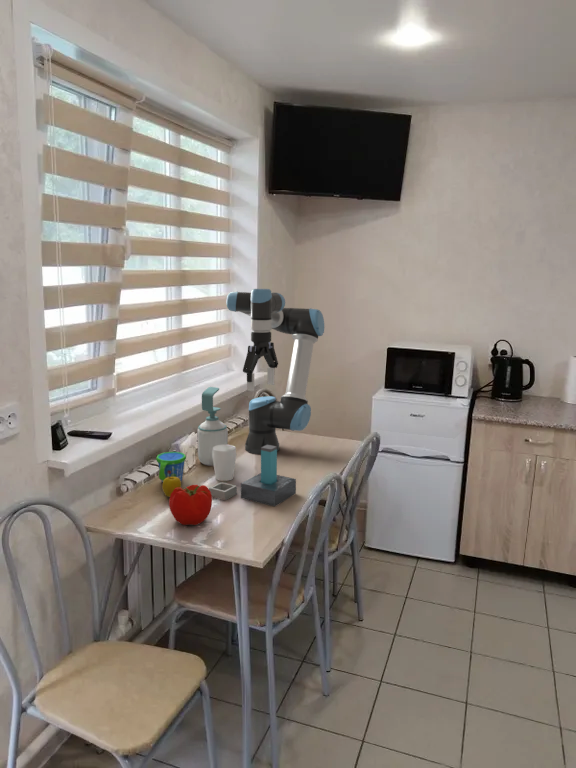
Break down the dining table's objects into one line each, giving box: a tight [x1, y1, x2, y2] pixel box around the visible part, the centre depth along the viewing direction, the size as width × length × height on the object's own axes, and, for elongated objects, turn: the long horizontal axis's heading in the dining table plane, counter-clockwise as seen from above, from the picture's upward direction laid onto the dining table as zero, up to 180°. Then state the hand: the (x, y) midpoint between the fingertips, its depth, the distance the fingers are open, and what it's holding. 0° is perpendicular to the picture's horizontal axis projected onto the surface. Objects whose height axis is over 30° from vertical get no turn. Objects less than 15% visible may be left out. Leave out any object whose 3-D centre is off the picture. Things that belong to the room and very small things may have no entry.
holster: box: [208, 481, 238, 501], centre depth 214 cm, size 7×7×3 cm
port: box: [240, 472, 297, 507], centre depth 214 cm, size 14×14×6 cm
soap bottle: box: [196, 386, 229, 467], centre depth 246 cm, size 12×12×31 cm
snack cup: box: [156, 451, 187, 483], centre depth 226 cm, size 16×10×10 cm
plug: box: [260, 445, 278, 485], centre depth 212 cm, size 4×4×17 cm
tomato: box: [168, 484, 213, 526], centre depth 192 cm, size 13×14×12 cm
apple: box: [162, 476, 182, 498], centre depth 212 cm, size 6×6×8 cm
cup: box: [212, 444, 237, 482], centre depth 230 cm, size 9×9×12 cm
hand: (261, 387), depth 228 cm, fingers open, 13 cm apart
